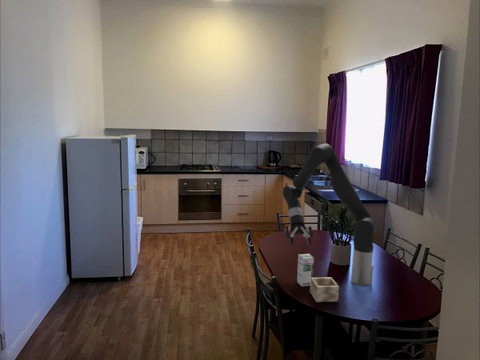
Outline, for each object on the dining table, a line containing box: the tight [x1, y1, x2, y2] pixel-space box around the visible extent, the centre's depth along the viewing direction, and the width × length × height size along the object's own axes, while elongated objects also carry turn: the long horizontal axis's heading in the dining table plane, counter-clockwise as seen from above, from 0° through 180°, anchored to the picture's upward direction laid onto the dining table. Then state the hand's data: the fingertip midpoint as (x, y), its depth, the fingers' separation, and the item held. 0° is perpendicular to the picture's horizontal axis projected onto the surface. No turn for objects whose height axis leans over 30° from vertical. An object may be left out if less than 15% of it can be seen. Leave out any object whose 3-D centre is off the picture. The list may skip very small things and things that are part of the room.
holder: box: [309, 276, 340, 303], centre depth 177 cm, size 10×10×7 cm
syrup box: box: [296, 253, 315, 287], centre depth 190 cm, size 6×6×14 cm
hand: (300, 245), depth 198 cm, fingers open, 8 cm apart
